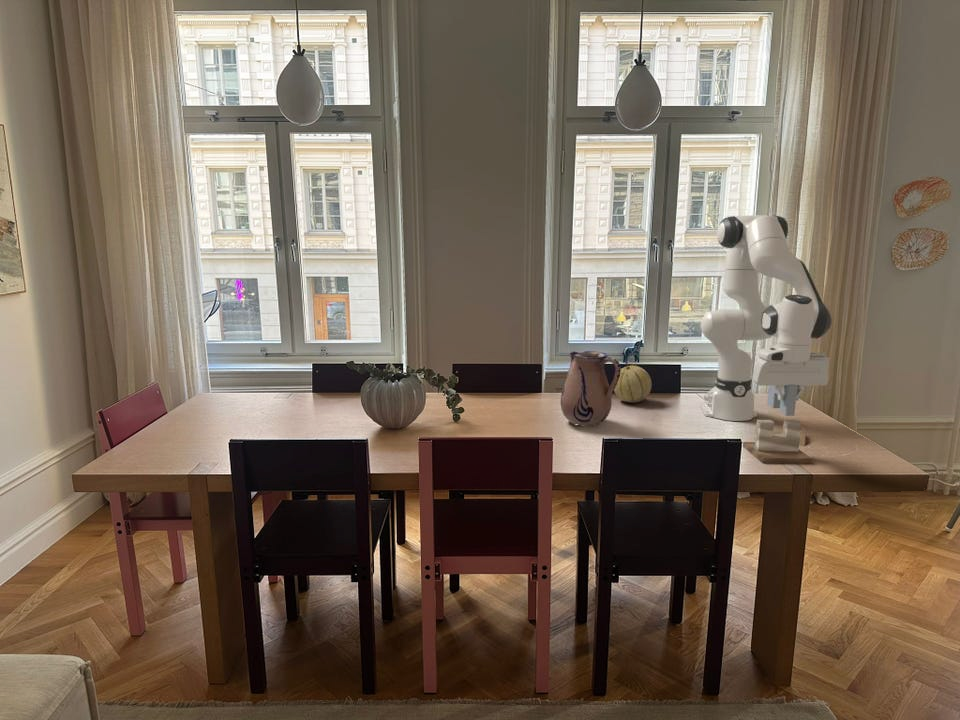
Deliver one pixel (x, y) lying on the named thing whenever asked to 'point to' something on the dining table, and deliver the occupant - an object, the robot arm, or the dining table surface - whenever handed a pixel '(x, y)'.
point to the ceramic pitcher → (588, 388)
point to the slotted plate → (785, 405)
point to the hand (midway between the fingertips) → (788, 400)
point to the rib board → (777, 455)
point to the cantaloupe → (633, 384)
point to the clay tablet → (802, 435)
